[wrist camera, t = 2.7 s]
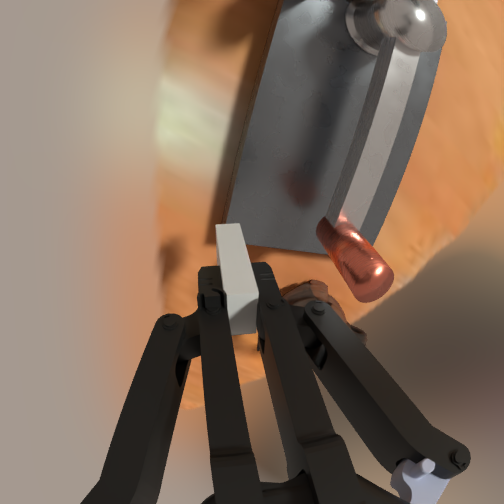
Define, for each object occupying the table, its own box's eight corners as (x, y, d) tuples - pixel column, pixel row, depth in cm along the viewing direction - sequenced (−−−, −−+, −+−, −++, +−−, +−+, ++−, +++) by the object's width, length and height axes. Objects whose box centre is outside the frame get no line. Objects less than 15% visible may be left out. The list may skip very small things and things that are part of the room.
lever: (365, -35, 11) (444, -65, 4) (411, -8, 12) (495, -18, 5) (290, 223, 22) (333, 301, 15) (338, 231, 24) (391, 303, 16)
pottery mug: (255, 341, 35) (255, 372, 26) (270, 266, 34) (274, 279, 26) (346, 353, 35) (367, 383, 26) (365, 283, 34) (394, 298, 26)
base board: (293, -49, 12) (327, -85, 6) (432, 22, 16) (487, 22, 10) (219, 228, 25) (226, 281, 19) (357, 248, 28) (391, 292, 23)
